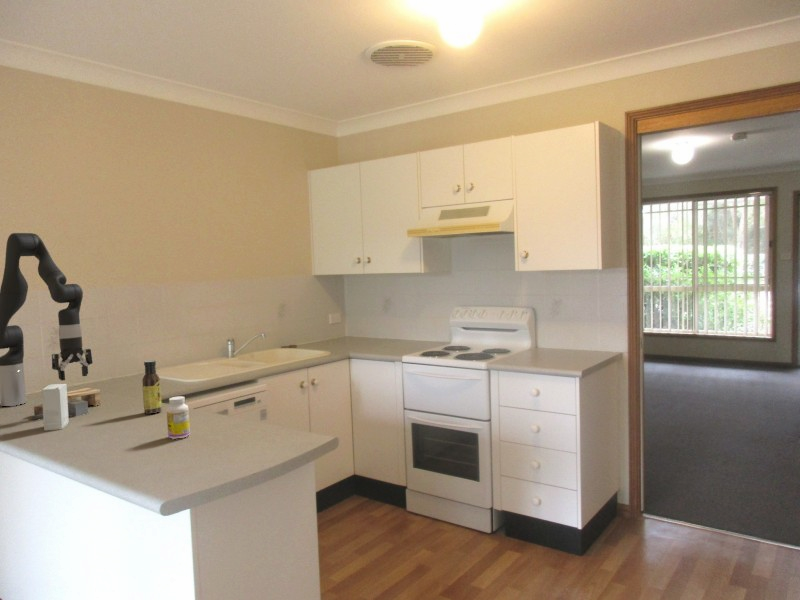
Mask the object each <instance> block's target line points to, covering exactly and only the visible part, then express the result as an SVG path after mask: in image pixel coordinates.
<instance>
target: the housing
mask: <svg viewBox="0 0 800 600" xmlns="http://www.w3.org/2000/svg"><path fill="white" fill-rule="evenodd" d="M87 413H88V414H89V405H88V401H82V400H80V399H76V400H71V401H68V416H69V415H72V416H71V417H75V416H77V417H80V416H79V415H81V416H84V415H83V414H85V415H88V414H87Z"/></svg>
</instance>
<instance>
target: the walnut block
mask: <svg viewBox="0 0 800 600" xmlns="http://www.w3.org/2000/svg"><path fill="white" fill-rule="evenodd" d="M33 412H34V415H37V414H43V403H42V404H38V405H35V406H34V407H33Z"/></svg>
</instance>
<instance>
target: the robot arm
mask: <svg viewBox="0 0 800 600" xmlns="http://www.w3.org/2000/svg"><path fill="white" fill-rule="evenodd" d="M5 248H6V249H5V260H4V269H3V270H4V271H3V275H2V276H3V277H2V279H1V284H0V350H4V349H8V351H7V352H6V353H4V354H3V355H2V356H0V405H1V406H0V407H2V406H10V407H16V405H17V406H20V404H22V405H24V403H25V404H26V403H27V395H26V394H27V391H26V381H25V380H26V379H25V369H24V368H25V367H24V355H25V352H24V351H25V350H24V349H25V348H24V345H25V343H24V342H25V341H24V333H23V330H22V327H21V326H19V325H9V322H10V321H11V319H12V318H13V316H14V315H15V314H16V313H17V312H18V311H19V310H20V309H21V308H22V306H24V304H25V302H26V301H27V297H28V290H29V284H28V282H27V279H26V278H25V276H24V275H23V273H22V271H21V268H20V259H21V257H34V258H36V259H37V260H38V266H37V272H38V276H39V277H40V278H41V280H42V281H43V282H44V284H46V286H47V288H48V291H49V295H50V297H51V299H52V300H53V301H54V302H55V303H57V304H66V303H67V304H68V306H67V307H66V308H63V309H60V310H59V311H58V313H57V317H58V337H59V338H58V340H59V349H60V353H52V354H51V369H52V370H54V371H57V374H58V375H57V376H58V380H60V381H66V374H65V368H66V367H67V366H68V365H69V364H72V363H79V364H80V365H81V374H82V377H88V374H89V367H88V366H90V365H92V364H93V355H92V350H91V348H84V349H83V336H82V335H83V334H82V328H81V322H80V321H81V320H80V311H81V306H82V305H81V304H82V301H83V297H84V296H83V295H84V293H83V289H82V287H81V286H80V285H79V284H77V283H67V276H66V275H65V274H64V273H63V271H61V269H60V268H59V267H58V266H57V264H56V263H55V261H54V260H53V259H52V256H51V254H50V252H49V250H48V249H47V247H46V245H45V244H44V242H43V239H42V238H41V237H40V236H39V235H38V234H36V233H31V232H13V233H11V234H10V235H8V238H7V240H6V247H5ZM83 355H84V357H85V358H84V357H83ZM60 358H61V360H60ZM59 361H60V362H59Z"/></svg>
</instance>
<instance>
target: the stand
mask: <svg viewBox="0 0 800 600" xmlns="http://www.w3.org/2000/svg"><path fill="white" fill-rule="evenodd" d="M100 395H101V389H96V388H91V387H84V388H79V389H74V390H67V400H68V401H71V400H77V398H78V397H80V399H81V400H82V401H88V406H90V405H94V406H93V407H98V406H97V405H100V406H101V396H100Z"/></svg>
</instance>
